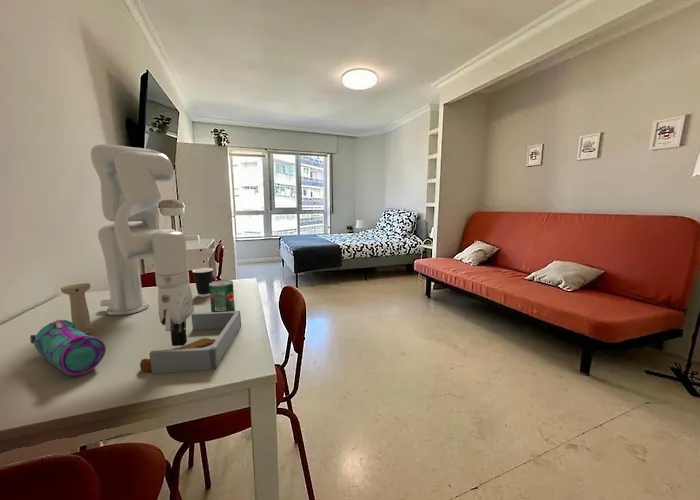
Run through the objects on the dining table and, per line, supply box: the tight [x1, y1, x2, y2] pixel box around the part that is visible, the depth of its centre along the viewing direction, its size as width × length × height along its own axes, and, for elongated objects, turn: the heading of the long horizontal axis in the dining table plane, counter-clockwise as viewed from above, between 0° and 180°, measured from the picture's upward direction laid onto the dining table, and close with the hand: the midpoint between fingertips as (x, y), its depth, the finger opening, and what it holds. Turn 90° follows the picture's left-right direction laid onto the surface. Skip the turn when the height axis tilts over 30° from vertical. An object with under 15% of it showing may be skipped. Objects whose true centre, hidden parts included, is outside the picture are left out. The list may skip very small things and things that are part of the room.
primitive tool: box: [139, 337, 216, 374], centre depth 79 cm, size 19×6×4 cm, turn 157°
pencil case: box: [29, 319, 107, 377], centre depth 74 cm, size 21×9×10 cm, turn 58°
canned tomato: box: [209, 279, 236, 312], centre depth 108 cm, size 8×8×11 cm
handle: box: [60, 282, 91, 335], centre depth 90 cm, size 5×6×15 cm
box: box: [149, 310, 242, 374], centre depth 83 cm, size 14×25×5 cm, turn 7°
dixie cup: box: [192, 267, 214, 298], centre depth 129 cm, size 8×8×11 cm
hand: (179, 344), depth 82 cm, fingers closed
